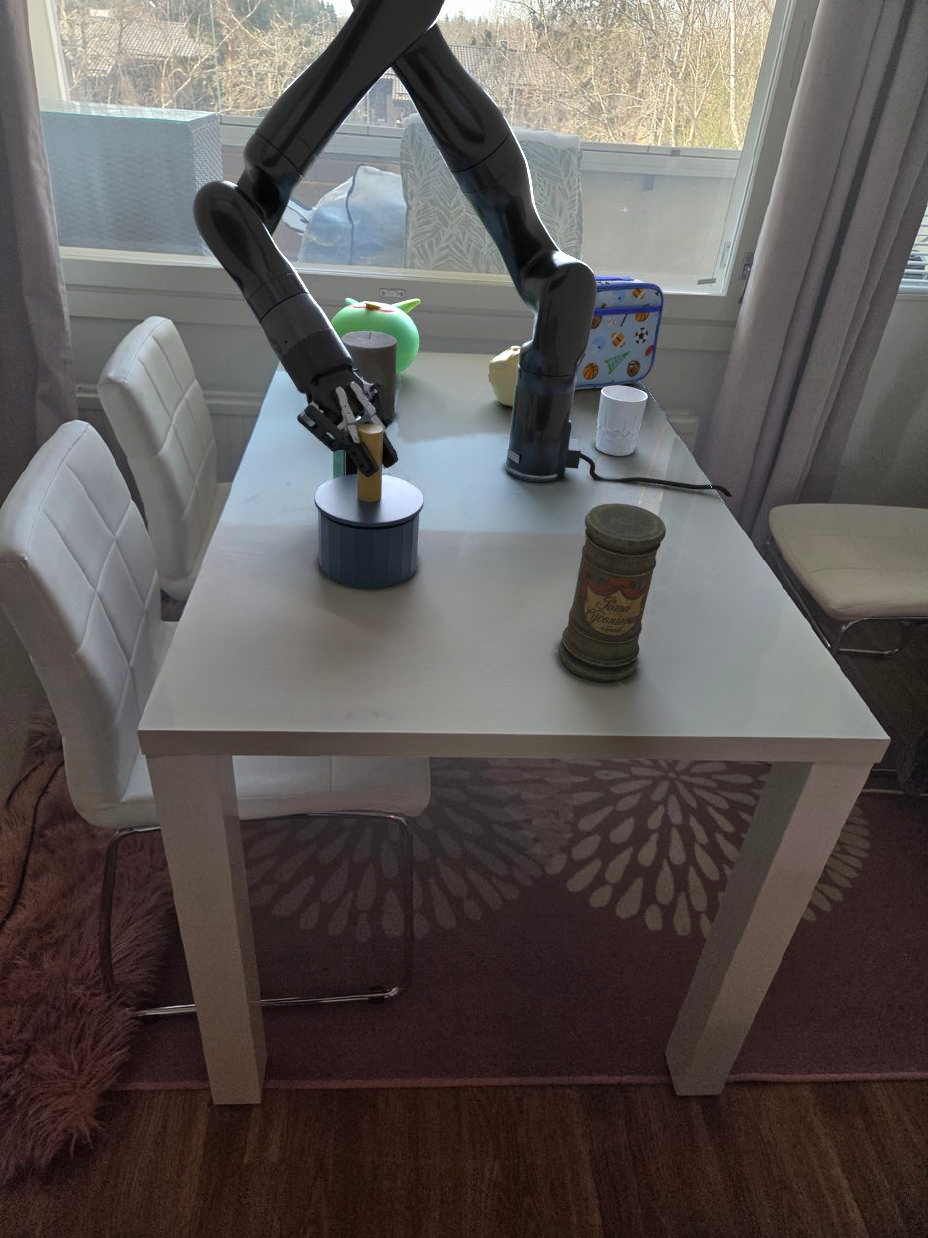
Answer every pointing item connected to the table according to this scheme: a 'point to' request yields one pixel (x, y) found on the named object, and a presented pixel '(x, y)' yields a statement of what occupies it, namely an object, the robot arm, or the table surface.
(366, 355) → the pillar candle
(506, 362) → the sculpture
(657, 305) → the lunch box
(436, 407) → the table surface
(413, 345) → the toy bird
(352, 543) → the tin
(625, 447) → the white cup
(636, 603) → the container
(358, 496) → the lid
